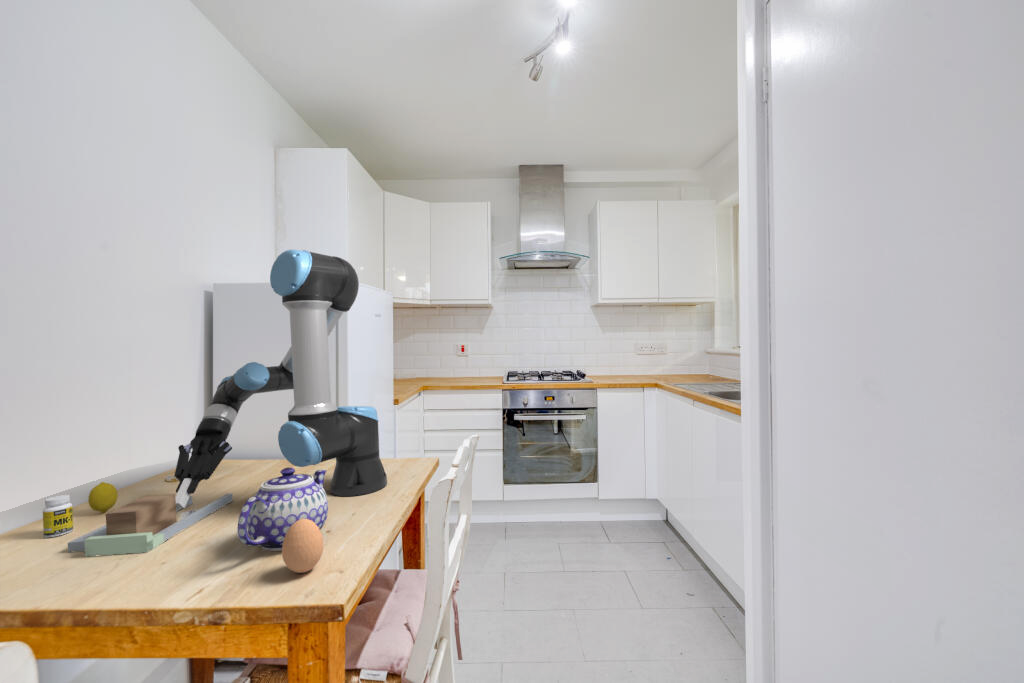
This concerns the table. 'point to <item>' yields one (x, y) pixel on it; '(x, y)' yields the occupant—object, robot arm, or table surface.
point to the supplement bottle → (57, 516)
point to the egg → (302, 546)
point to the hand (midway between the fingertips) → (178, 505)
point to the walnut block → (143, 515)
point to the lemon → (103, 497)
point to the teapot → (282, 508)
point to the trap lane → (139, 534)
